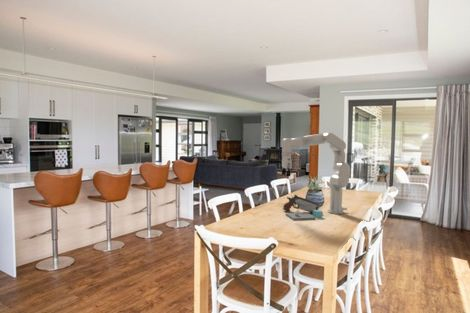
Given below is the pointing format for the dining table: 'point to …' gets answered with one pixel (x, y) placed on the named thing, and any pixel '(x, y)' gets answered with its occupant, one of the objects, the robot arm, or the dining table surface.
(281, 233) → the dining table surface
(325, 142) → the robot arm
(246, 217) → the dining table surface
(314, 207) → the gun
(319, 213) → the teal rectangular block
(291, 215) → the board
